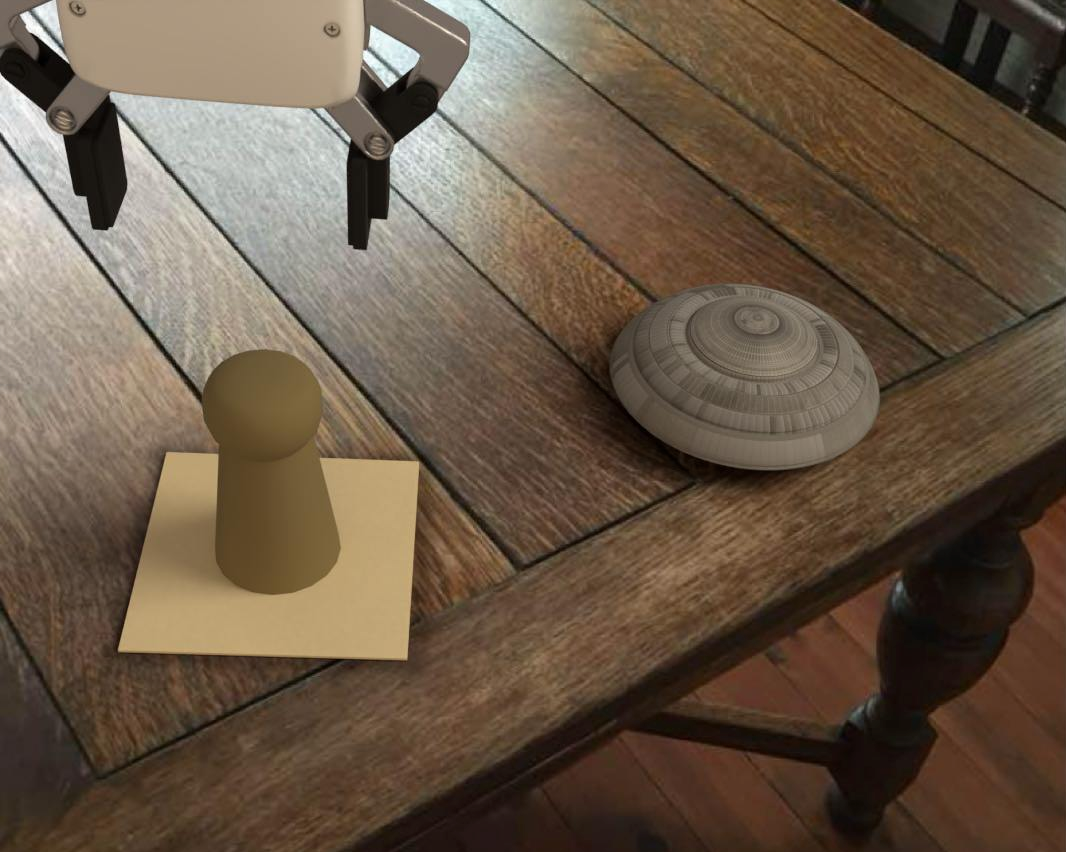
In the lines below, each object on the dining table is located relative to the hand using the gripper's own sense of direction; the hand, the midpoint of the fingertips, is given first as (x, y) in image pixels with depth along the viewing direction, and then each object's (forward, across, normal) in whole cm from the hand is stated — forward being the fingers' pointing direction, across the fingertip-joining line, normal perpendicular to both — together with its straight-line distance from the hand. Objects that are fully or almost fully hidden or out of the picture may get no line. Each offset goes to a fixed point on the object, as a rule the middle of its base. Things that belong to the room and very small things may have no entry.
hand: (236, 219), depth 53 cm
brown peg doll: (+19, -1, 0) cm, 19 cm away
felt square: (+19, -1, 0) cm, 19 cm away
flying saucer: (+19, -25, -13) cm, 33 cm away
